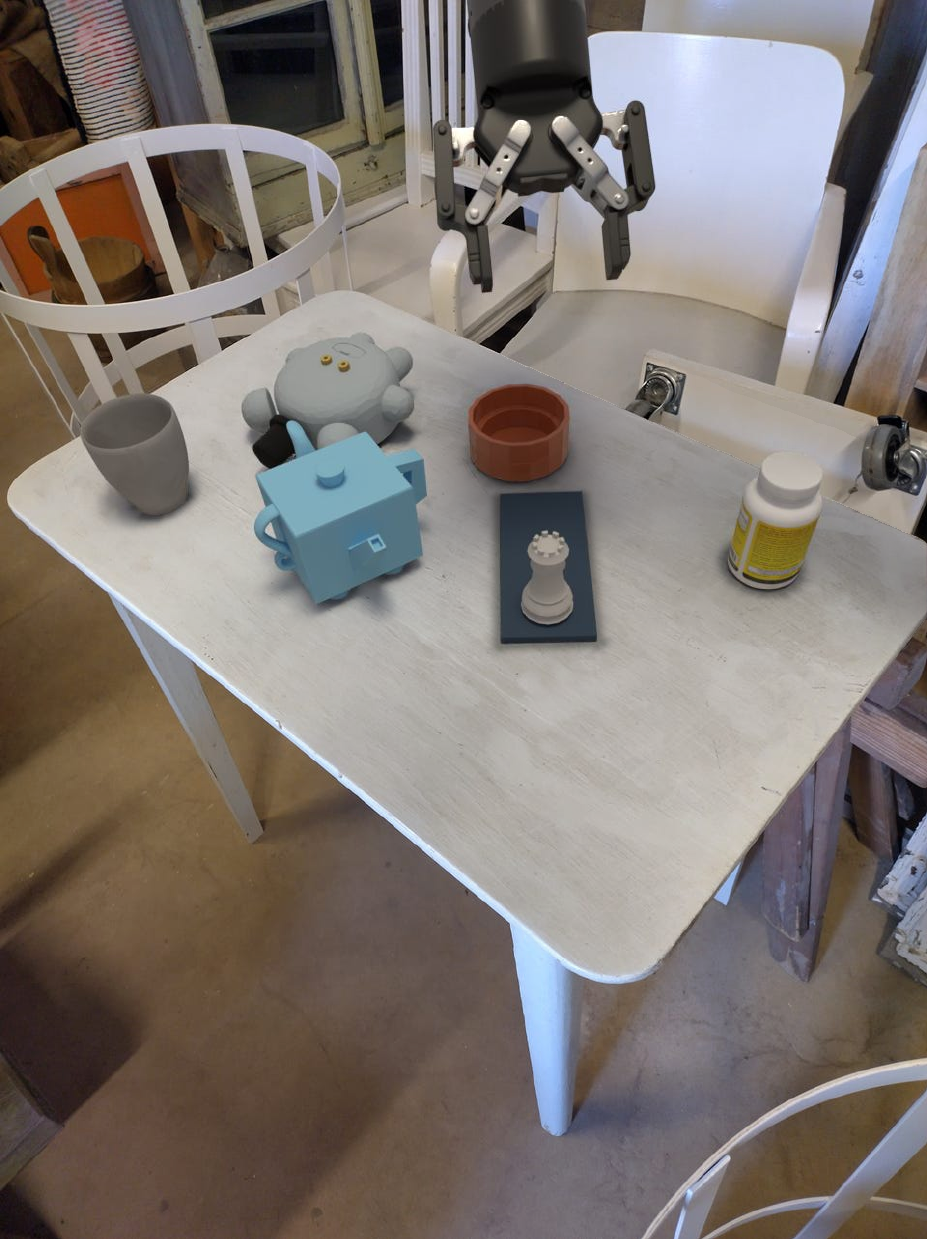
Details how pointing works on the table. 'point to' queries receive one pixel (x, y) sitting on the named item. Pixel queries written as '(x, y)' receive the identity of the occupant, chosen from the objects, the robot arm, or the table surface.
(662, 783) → the table surface
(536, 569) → the rook chess piece
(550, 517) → the rectangular board
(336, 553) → the teapot
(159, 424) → the mug
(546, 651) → the table surface
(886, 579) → the table surface
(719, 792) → the table surface
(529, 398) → the bowl
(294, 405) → the figurine
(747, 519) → the pill bottle
